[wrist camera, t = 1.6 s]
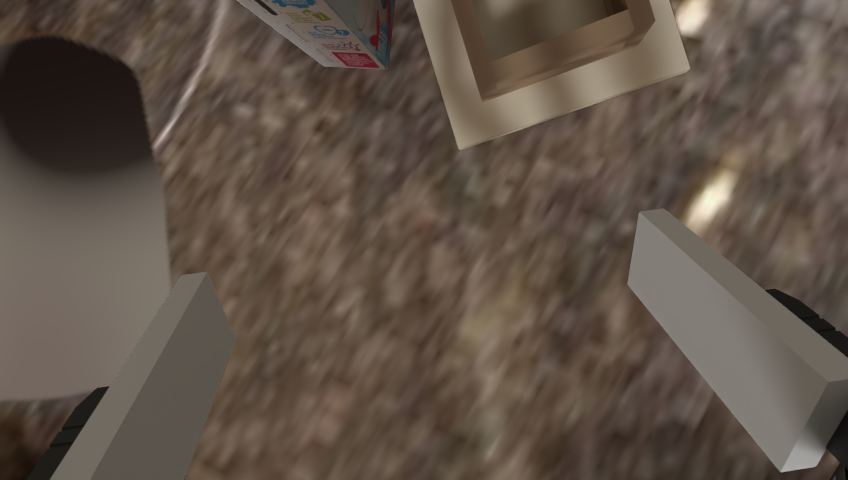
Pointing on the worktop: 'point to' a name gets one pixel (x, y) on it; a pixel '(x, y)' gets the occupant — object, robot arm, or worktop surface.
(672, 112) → the worktop surface
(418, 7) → the birch collar board
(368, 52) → the juice carton
